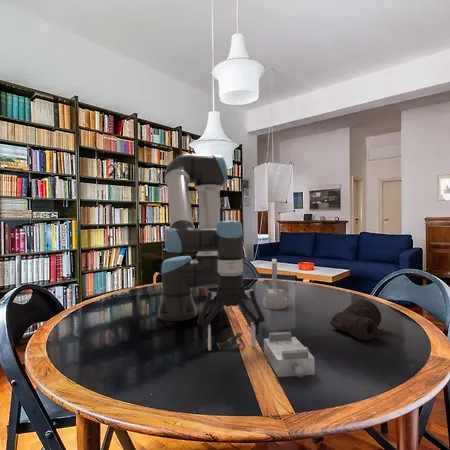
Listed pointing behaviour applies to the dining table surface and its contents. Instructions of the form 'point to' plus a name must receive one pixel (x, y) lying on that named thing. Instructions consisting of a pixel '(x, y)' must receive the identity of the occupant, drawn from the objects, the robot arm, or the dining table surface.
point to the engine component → (274, 292)
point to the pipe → (358, 319)
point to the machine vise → (288, 355)
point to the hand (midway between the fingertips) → (231, 347)
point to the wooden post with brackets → (231, 341)
